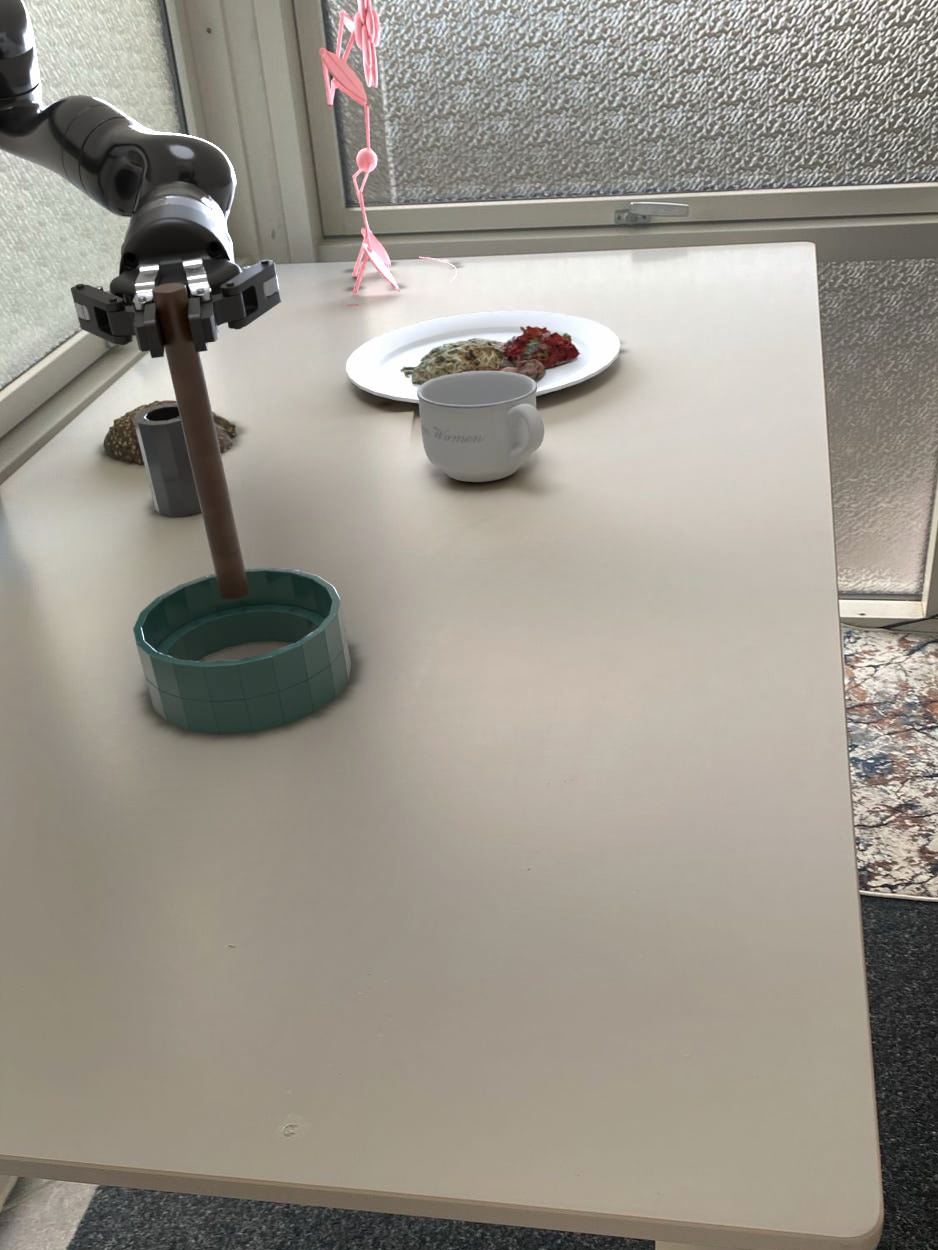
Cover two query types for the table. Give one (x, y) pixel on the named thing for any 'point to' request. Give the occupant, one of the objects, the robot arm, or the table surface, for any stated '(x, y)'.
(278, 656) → the ring
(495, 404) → the teacup
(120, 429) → the bread roll
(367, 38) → the figurine
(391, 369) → the plated food
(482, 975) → the table surface
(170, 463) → the holder
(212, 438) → the stick
